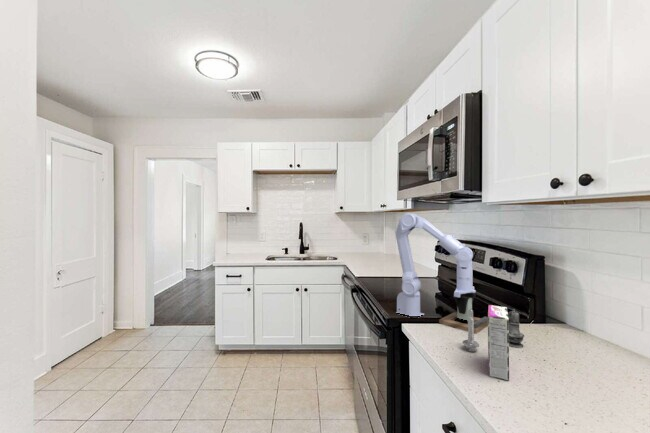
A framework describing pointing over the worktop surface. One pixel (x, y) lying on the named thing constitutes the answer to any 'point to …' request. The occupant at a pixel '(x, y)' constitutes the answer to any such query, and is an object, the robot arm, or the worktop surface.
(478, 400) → the worktop surface
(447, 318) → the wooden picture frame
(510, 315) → the grey chess piece
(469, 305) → the peg
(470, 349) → the screw
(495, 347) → the candy bar box
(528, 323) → the worktop surface
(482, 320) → the metal rail
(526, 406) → the worktop surface
